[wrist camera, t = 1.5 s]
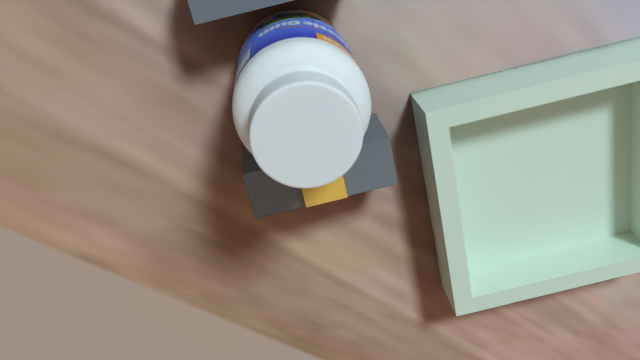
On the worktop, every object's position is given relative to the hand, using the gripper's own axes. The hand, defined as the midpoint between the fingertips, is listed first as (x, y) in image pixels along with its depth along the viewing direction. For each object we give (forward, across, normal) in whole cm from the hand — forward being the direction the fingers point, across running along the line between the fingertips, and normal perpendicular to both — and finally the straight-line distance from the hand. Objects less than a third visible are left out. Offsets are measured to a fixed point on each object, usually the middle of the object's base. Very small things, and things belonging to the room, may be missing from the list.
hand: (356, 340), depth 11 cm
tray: (+20, +11, -9) cm, 25 cm away
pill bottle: (+20, 0, 0) cm, 20 cm away
